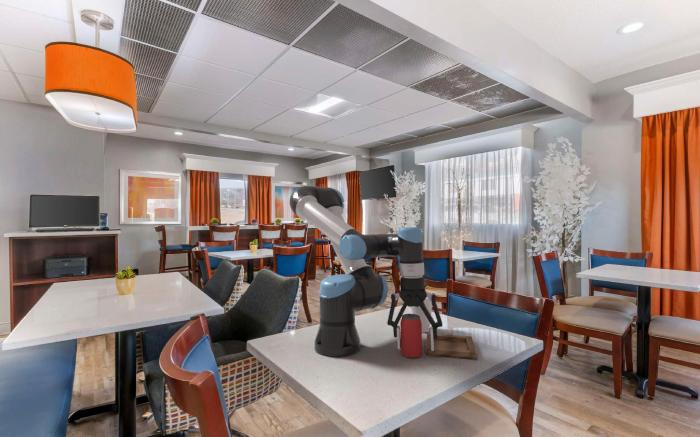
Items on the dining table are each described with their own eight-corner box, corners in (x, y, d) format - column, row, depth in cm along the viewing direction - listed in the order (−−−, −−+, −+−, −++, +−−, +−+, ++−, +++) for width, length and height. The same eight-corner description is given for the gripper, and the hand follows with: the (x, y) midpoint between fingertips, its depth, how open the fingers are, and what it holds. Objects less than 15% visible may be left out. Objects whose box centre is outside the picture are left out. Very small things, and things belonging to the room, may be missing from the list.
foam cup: (438, 332, 123) (437, 297, 123) (417, 335, 120) (416, 299, 120) (423, 324, 132) (423, 292, 132) (403, 327, 128) (403, 294, 129)
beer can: (425, 353, 103) (424, 315, 103) (417, 360, 97) (417, 320, 98) (405, 349, 106) (405, 312, 107) (397, 355, 101) (396, 317, 101)
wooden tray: (425, 355, 101) (425, 348, 101) (426, 337, 117) (426, 331, 117) (477, 360, 98) (477, 353, 98) (471, 340, 114) (470, 334, 114)
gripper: (375, 278, 101) (378, 351, 101) (449, 277, 96) (453, 354, 95) (379, 274, 108) (382, 342, 108) (448, 274, 103) (452, 345, 102)
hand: (415, 348), depth 101 cm, fingers open, 9 cm apart
